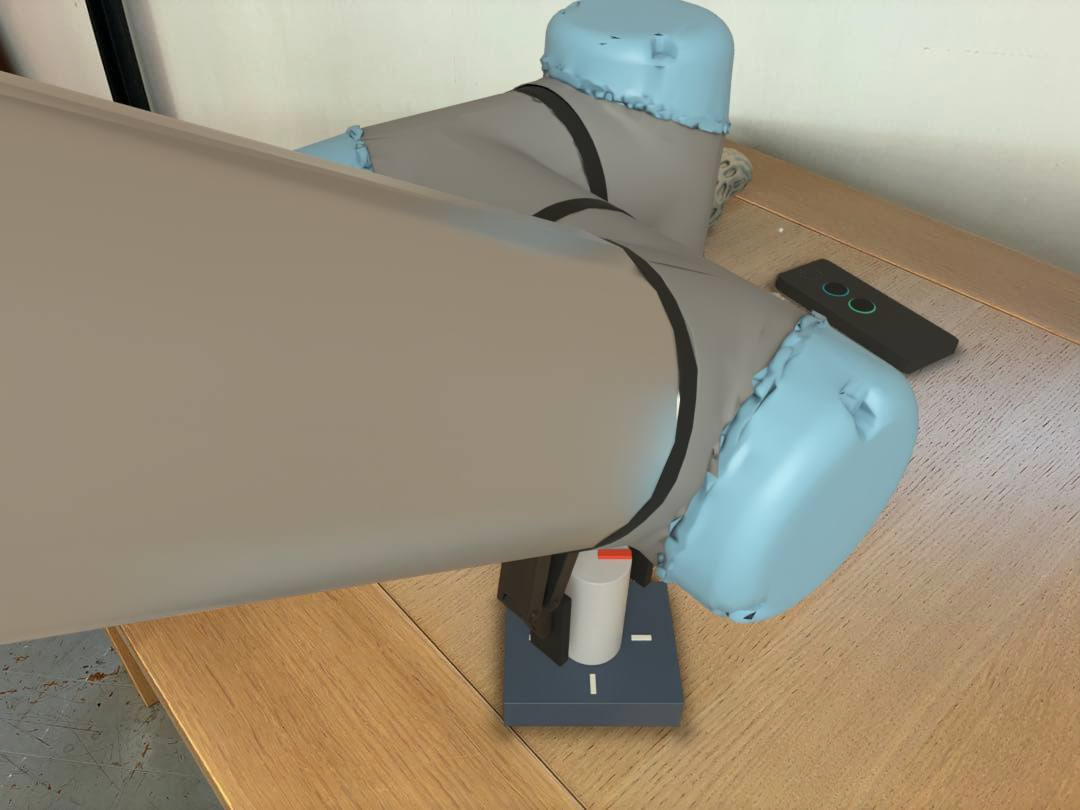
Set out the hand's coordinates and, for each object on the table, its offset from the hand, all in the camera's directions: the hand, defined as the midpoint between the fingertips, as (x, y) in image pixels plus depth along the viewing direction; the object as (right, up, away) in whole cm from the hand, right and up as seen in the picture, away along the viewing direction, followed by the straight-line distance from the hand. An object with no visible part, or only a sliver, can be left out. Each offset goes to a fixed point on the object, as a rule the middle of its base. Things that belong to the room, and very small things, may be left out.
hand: (592, 610), depth 56 cm
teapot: (+13, +36, +52) cm, 65 cm away
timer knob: (0, -2, +2) cm, 3 cm away
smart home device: (+33, +24, +38) cm, 56 cm away
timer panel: (0, -5, +4) cm, 6 cm away
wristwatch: (+22, +22, +36) cm, 47 cm away
